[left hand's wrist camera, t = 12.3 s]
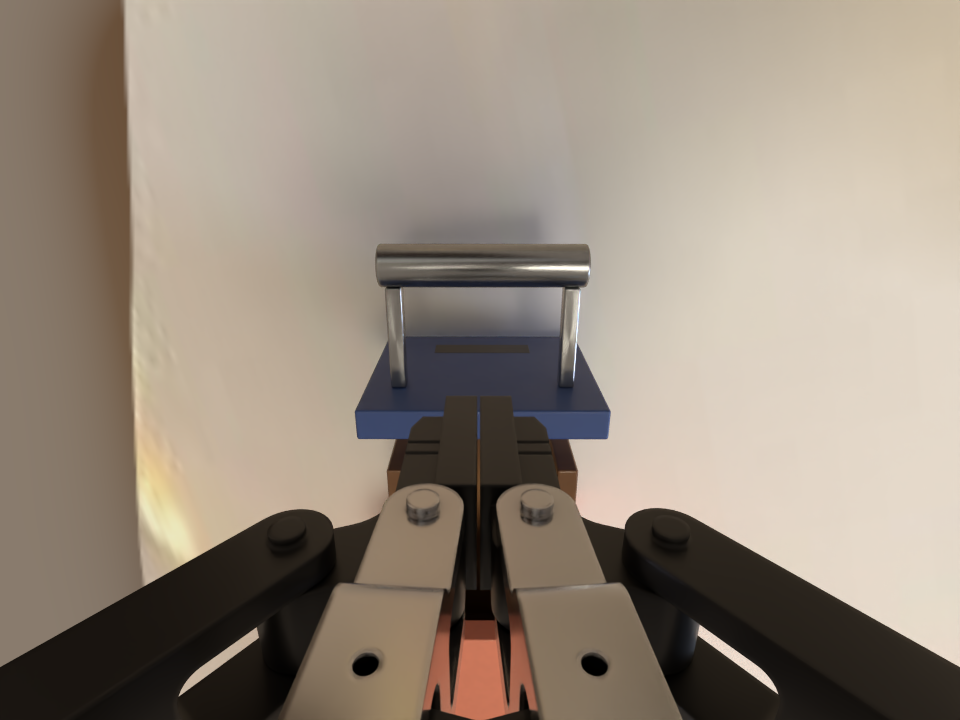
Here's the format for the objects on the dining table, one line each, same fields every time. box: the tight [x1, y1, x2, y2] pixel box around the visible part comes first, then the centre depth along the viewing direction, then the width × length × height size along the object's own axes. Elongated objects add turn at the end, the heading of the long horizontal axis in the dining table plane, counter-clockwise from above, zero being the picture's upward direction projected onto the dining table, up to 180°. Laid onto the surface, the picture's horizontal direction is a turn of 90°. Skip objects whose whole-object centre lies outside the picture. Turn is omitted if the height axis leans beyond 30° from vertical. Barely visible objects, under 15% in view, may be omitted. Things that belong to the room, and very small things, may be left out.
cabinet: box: [455, 620, 505, 720], centre depth 30 cm, size 19×10×10 cm, turn 0°
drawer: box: [355, 244, 611, 620], centre depth 25 cm, size 23×9×8 cm, turn 0°
